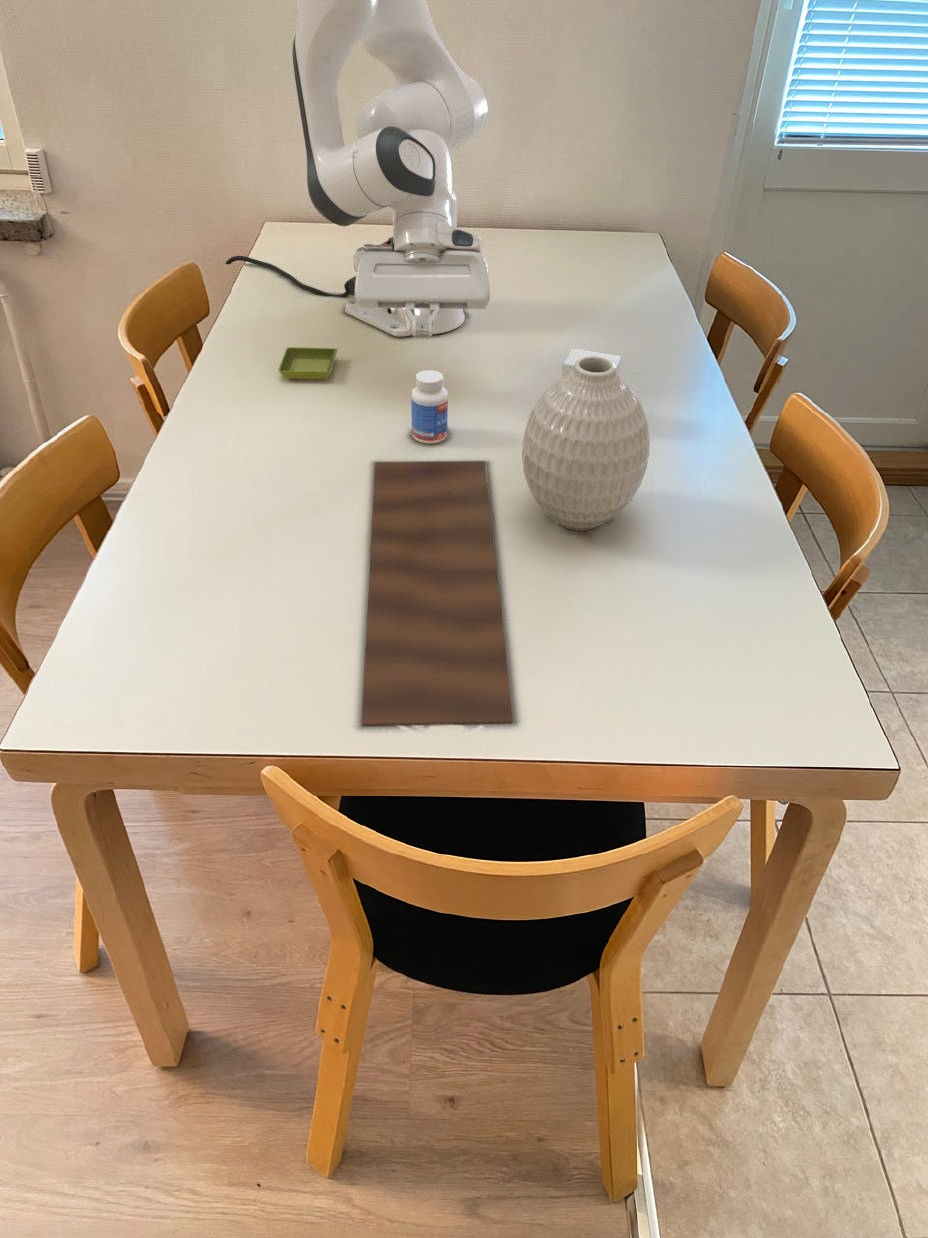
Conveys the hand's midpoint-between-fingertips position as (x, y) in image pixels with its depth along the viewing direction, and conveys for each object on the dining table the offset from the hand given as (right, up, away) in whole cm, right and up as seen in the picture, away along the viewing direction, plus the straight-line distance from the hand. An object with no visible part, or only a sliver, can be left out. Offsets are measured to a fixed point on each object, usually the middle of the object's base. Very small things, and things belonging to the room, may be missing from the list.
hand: (422, 335), depth 144 cm
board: (+2, -37, -23) cm, 43 cm away
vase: (+22, -29, -13) cm, 38 cm away
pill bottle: (+1, -15, +2) cm, 15 cm away
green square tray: (-20, -1, +17) cm, 26 cm away
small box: (+25, -12, +6) cm, 29 cm away
